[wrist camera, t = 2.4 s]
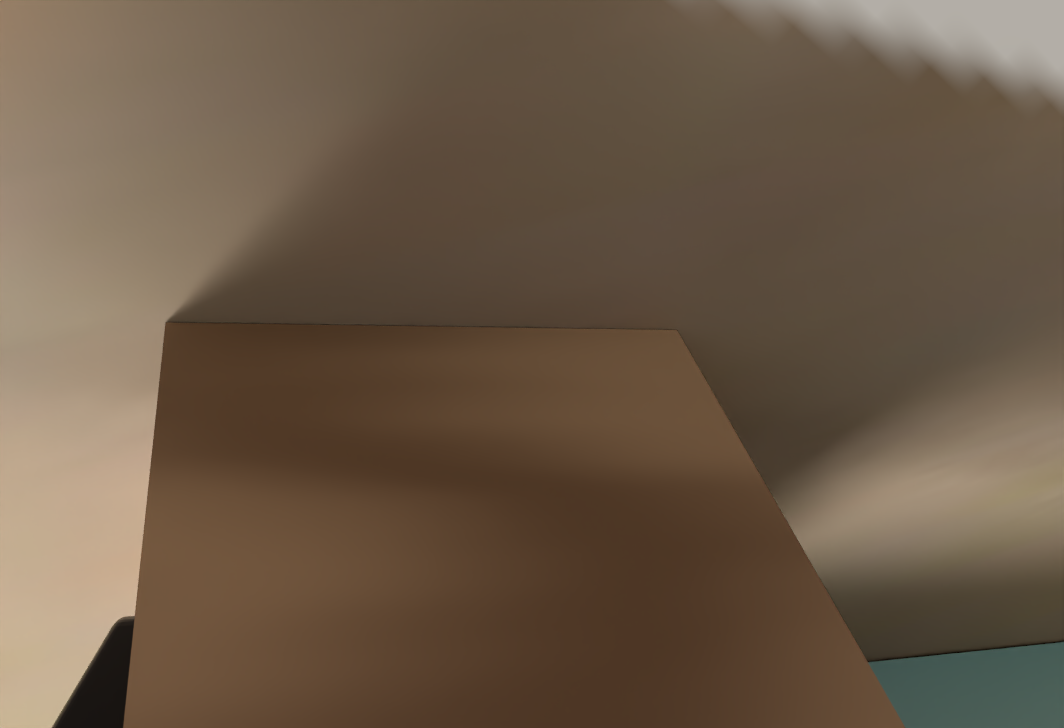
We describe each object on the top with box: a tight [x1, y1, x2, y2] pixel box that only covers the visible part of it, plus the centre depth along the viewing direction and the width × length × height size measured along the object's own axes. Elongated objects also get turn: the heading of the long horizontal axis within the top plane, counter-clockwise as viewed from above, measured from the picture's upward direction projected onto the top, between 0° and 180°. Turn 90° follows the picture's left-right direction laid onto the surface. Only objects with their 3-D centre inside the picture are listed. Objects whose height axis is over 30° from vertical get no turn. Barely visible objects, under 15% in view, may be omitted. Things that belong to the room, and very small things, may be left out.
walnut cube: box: [123, 322, 905, 728], centre depth 9 cm, size 5×5×5 cm
